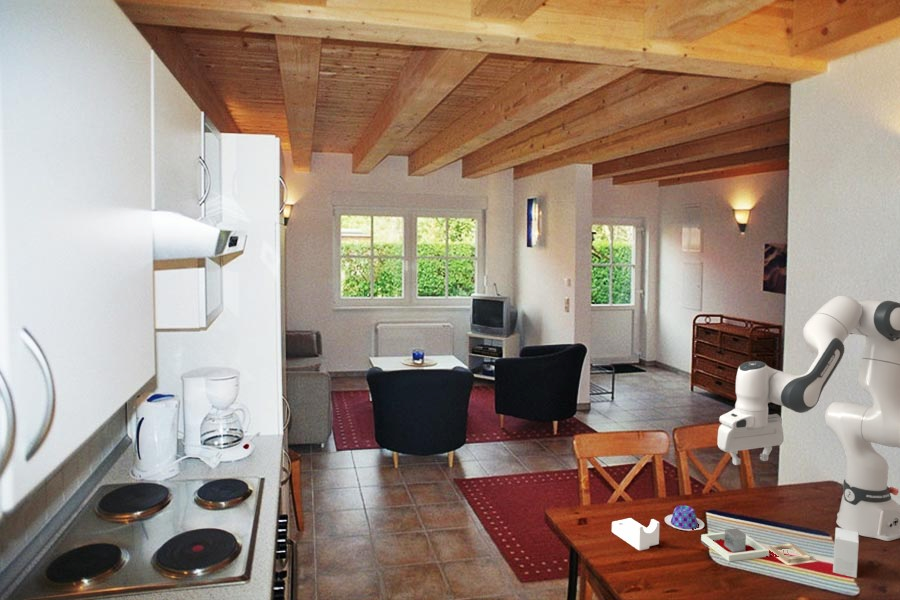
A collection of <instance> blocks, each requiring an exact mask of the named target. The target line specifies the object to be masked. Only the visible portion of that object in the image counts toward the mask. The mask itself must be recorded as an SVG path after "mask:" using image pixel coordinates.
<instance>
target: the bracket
mask: <svg viewBox="0 0 900 600" xmlns="http://www.w3.org/2000/svg"><path fill="white" fill-rule="evenodd" d="M611 533H613V534H614V535H615V536H616V537H619V538H620V539H622V540H623V541H624V542H626V543H627V544H629V545H630V546H631V547H633V548H635V549H636V550H637V551H639V552H640V551H644V550H648V549H650V547H652V546H656V545H659V544H660V542H659V541H660V521H658V520H656V519H654V518H652V519H650V522H649V525H648V526H647V527H646V526H644V525H642V523H639V522H638V521H636V520H635V519H633V518H632V517H628V518H624V519H619V520H614V521H612V522H611Z"/></svg>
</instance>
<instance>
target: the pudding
mask: <svg viewBox="0 0 900 600" xmlns="http://www.w3.org/2000/svg"><path fill="white" fill-rule="evenodd" d="M664 522H665V523H666V524H667V525H668V526H670V527H672V528H674V529H678V530H682V531H696V530H697V531H698V530H702V529H703V528H704V527H705V523H704V522H703V520H701V519H700V518H698V517H697V515H696V510H695V509H694V508H693V507H691V506H687V505H677V506H676V507H675V508H674V510H673V513H672V514H668V515H667V516H665V517H664ZM697 523H698V524H699V528H697V527H698V524H697ZM692 528H693V529H694V530H692ZM695 528H696V529H695Z"/></svg>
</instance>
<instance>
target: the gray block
mask: <svg viewBox="0 0 900 600" xmlns="http://www.w3.org/2000/svg"><path fill="white" fill-rule="evenodd" d="M724 532H725V539H724V543H723V546H724V547H726V548H727V549H728V550H730V551H731V553H738V552H746V544H747V543H746V535H747V534H746V533H744V532H743V531H741V530H740V529H739V528H731V529H730V528H729V529H728V528H727V529H725V530H724Z"/></svg>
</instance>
